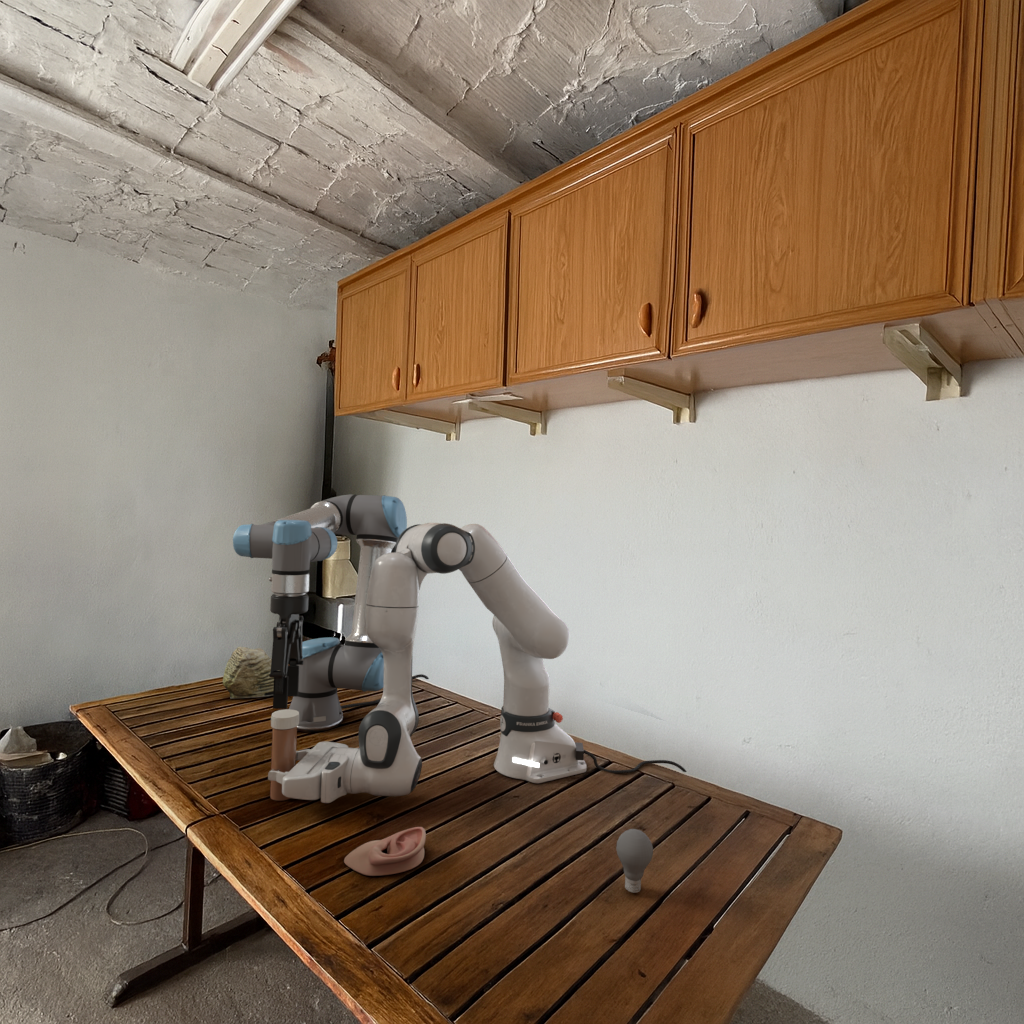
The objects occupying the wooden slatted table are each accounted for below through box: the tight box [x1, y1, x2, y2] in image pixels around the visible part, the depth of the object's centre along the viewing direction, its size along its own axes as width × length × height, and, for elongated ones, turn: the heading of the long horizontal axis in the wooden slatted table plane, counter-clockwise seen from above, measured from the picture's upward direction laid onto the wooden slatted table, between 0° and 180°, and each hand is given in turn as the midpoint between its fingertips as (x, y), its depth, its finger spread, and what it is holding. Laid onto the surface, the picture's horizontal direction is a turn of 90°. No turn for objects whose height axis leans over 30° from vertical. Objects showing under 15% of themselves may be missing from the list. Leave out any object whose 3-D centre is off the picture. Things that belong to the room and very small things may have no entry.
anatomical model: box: [343, 826, 427, 877], centre depth 112 cm, size 13×4×12 cm
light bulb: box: [615, 828, 654, 894], centre depth 106 cm, size 6×6×10 cm
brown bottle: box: [269, 726, 298, 802], centre depth 134 cm, size 5×5×17 cm
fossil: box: [222, 646, 280, 699], centre depth 198 cm, size 9×18×15 cm, turn 132°
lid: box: [270, 708, 299, 729], centre depth 133 cm, size 6×6×2 cm
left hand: (285, 701), depth 133 cm, fingers open, 7 cm apart
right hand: (279, 764), depth 134 cm, fingers open, 8 cm apart
